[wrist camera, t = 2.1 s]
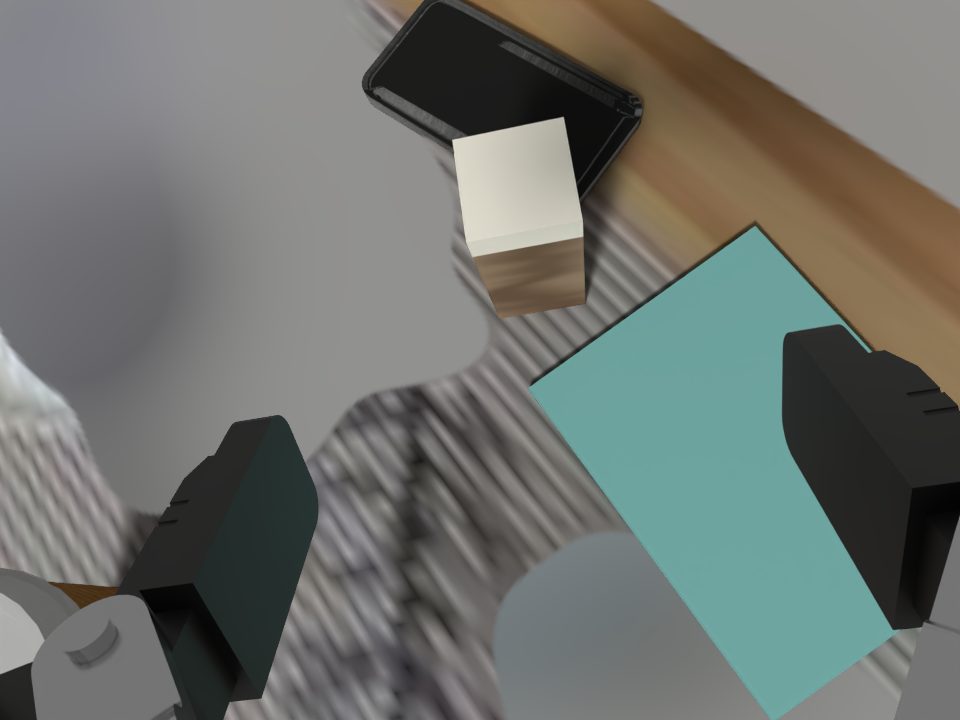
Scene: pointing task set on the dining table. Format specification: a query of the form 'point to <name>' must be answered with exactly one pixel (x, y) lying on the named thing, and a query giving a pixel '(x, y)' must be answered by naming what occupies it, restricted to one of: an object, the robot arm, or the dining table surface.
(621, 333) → the teal mat
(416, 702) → the dining table surface
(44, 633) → the disposable coffee cup
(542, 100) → the phone
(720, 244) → the dining table surface
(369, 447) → the dining table surface
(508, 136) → the walnut block
